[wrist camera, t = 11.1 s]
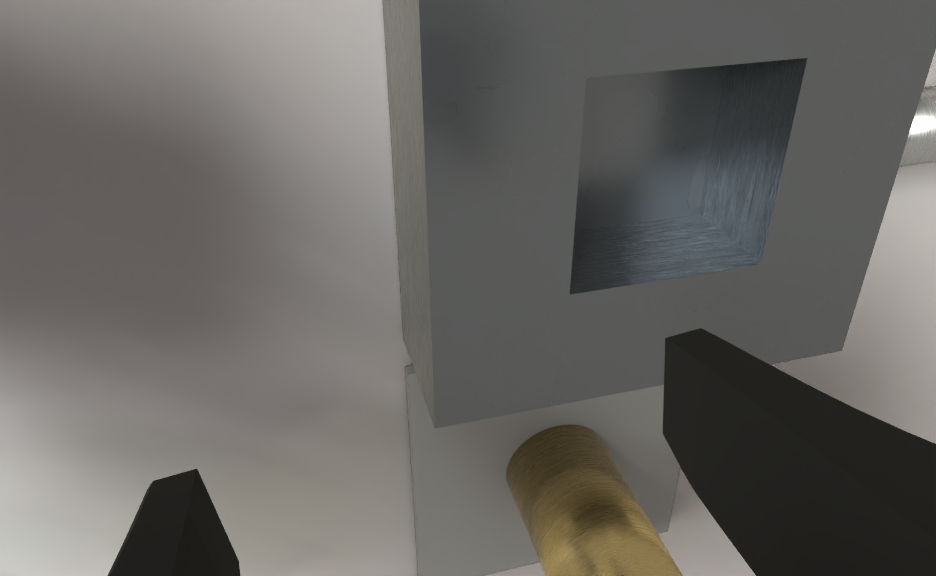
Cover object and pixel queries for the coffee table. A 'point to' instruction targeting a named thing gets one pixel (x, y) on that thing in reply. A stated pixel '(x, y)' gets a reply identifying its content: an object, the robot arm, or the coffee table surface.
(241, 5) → the coffee table surface
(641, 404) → the rubber mat
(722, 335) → the chuck block
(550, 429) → the gold metal cylinder
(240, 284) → the coffee table surface
